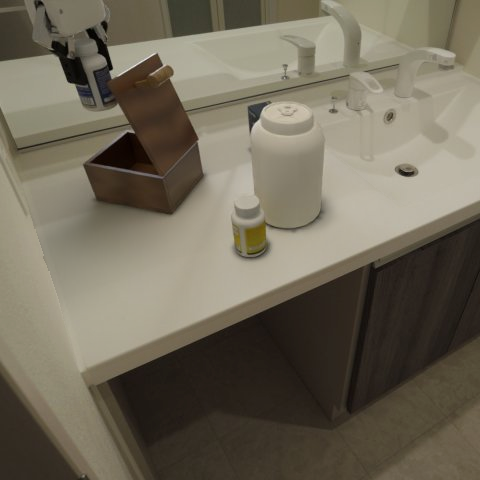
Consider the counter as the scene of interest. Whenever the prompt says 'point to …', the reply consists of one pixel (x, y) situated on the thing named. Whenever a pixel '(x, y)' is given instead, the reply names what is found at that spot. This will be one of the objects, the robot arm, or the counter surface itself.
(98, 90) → the pill bottle
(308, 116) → the white canister
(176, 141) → the lid
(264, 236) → the supplement bottle
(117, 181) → the chest
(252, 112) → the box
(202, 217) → the counter surface
